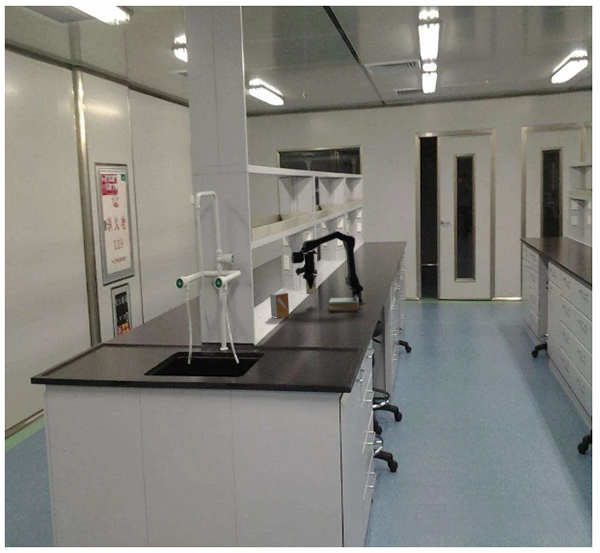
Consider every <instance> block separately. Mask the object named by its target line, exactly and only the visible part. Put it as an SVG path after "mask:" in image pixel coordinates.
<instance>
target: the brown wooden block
mask: <svg viewBox="0 0 600 553" xmlns="http://www.w3.org/2000/svg"><path fill="white" fill-rule="evenodd" d="M305 288H306V289H305V290H306V295H316V293H317V286H316V279H314V282H313V286H312V289H310V288H309V285H308V282H307V280H306V279H305Z"/></svg>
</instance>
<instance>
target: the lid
mask: <svg viewBox="0 0 600 553" xmlns="http://www.w3.org/2000/svg"><path fill="white" fill-rule="evenodd" d="M358 299H359V297H357V295H354V297H353V298H352V297H330V299H329V301H328V305H329V304H340V303H358Z"/></svg>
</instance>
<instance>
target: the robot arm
mask: <svg viewBox="0 0 600 553" xmlns="http://www.w3.org/2000/svg"><path fill="white" fill-rule="evenodd" d="M333 240H338V241H340V242H342V245H343V247H344V250H345V254H346V264H347V273H348V274H347V276H345V277H344V278H345V284H346V286H347V287H348V288H349V290H350V291H351V298H353V297H354V295H357V297H359V299H358V300H359V302H363V296H362V292H363V291H364V286H362V284H360V281H359V278H358V275H357V273H356V272H357V270H356V263H355V251H354V250H355V246H356V239H355V237H354V236H353V235H347V234H345V233H342V232H341V231H338V230H334V231H333V232H330V233H328V234H325V235H322V236H321V237H320V236H319V237H317V238H314V239H307V240H305V241H303V242H302V246H301V248H300V250H299V251H292V252H291V257H290V258H291V259H290V260H291V263H292V264H293V265H295V264H302V263H303V262H304V264H303V266H302V267H297V268H296V269H295V271H294V272H295V274H296V275H297V276H300V275H301V274H303V273H304V274H303V275H302V279H303V280H305V281H306V280H307V282H308V285H309V288H310V289H312V286H313V282H314V279H315V280H316V278H317V275H318V270H317V269H316V268H315V267H316V263H315V255H318V252H317V251H316V250H315V249H317V248H318V247H319V246H320V245H323V244H326V243H328V242H331V241H333Z"/></svg>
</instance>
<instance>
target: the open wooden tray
mask: <svg viewBox="0 0 600 553" xmlns="http://www.w3.org/2000/svg"><path fill="white" fill-rule="evenodd" d="M359 307H360V301H359V300H358V303H340V304H329V303H328V311H329V312H356V311H359Z"/></svg>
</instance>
